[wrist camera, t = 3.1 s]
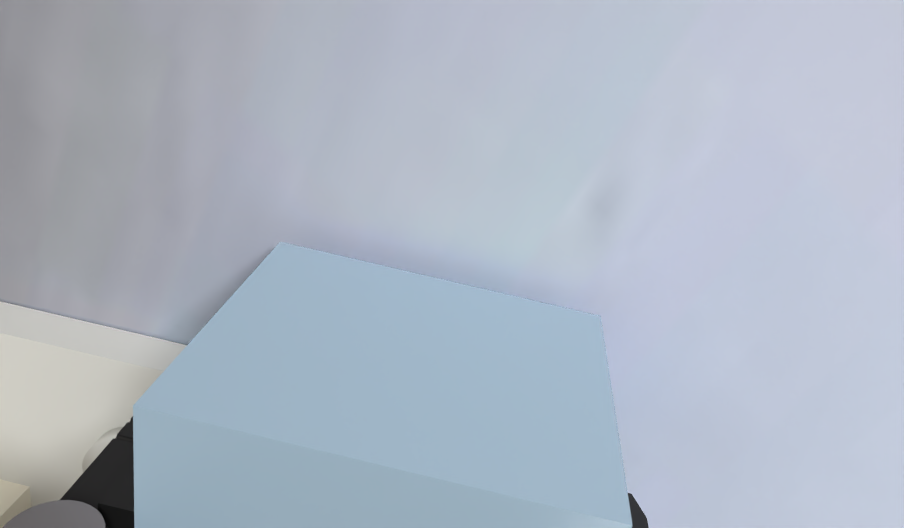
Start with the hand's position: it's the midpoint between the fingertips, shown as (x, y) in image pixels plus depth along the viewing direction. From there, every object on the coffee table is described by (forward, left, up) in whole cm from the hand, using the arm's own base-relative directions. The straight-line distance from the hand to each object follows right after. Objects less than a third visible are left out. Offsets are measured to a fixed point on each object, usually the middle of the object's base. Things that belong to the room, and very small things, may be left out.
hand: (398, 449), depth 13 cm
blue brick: (0, 0, -1) cm, 1 cm away
